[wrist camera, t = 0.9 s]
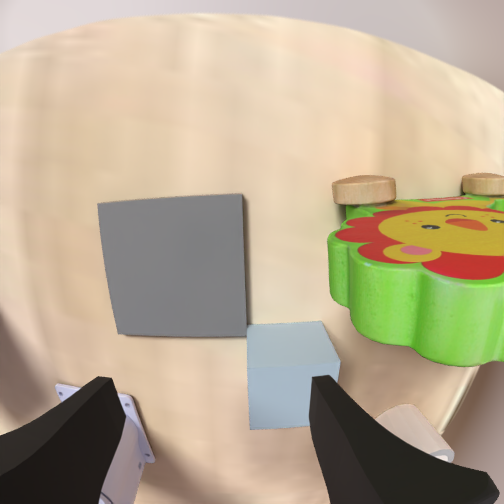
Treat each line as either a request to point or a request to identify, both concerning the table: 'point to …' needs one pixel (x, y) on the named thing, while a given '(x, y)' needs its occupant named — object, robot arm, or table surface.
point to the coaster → (176, 265)
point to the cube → (286, 371)
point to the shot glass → (415, 430)
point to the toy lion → (423, 267)
